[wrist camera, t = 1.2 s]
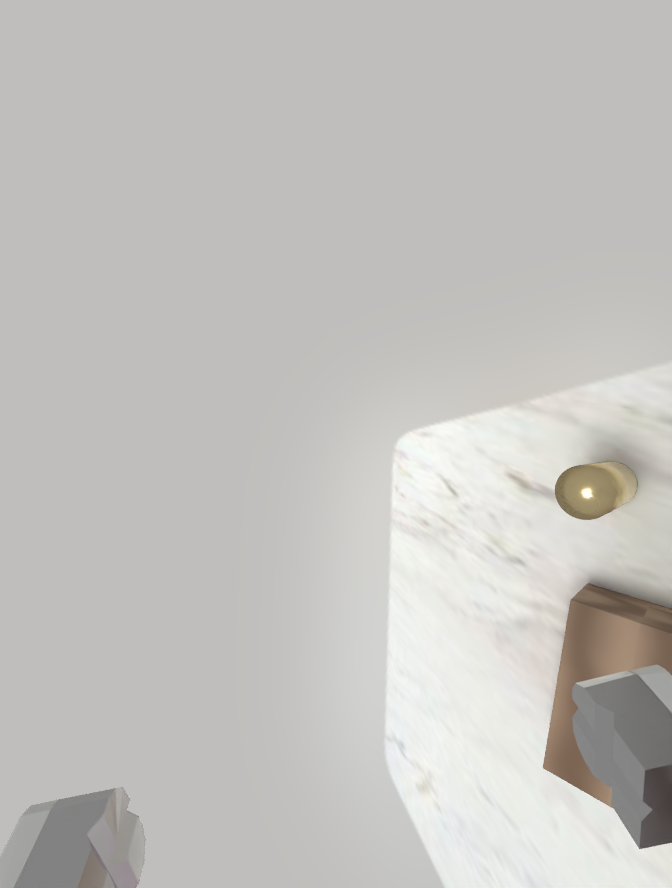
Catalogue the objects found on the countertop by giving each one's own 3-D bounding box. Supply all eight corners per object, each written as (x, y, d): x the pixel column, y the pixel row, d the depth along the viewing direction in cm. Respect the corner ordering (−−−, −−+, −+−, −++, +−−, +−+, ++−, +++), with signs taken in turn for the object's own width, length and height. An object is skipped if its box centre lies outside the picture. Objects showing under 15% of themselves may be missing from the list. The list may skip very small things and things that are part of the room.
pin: (641, 465, 40) (619, 470, 32) (633, 510, 40) (610, 525, 33) (590, 458, 43) (559, 460, 35) (583, 500, 43) (551, 512, 35)
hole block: (818, 654, 33) (832, 688, 28) (777, 845, 34) (784, 906, 30) (587, 583, 43) (570, 599, 38) (562, 734, 44) (542, 767, 40)
